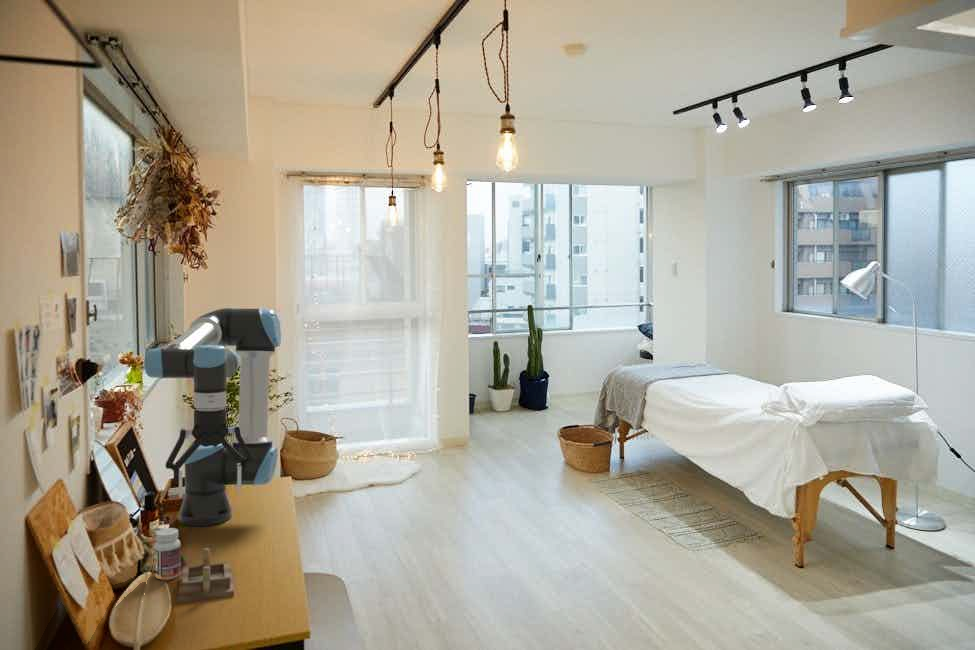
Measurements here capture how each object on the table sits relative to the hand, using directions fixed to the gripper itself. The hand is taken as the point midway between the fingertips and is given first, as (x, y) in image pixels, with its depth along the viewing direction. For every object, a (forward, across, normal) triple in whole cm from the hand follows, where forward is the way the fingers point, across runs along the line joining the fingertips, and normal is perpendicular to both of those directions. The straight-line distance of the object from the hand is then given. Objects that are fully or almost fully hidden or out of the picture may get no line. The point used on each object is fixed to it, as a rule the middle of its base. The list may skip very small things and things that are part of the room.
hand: (210, 493), depth 181 cm
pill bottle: (+21, -10, +4) cm, 24 cm away
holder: (+21, -1, -7) cm, 22 cm away
